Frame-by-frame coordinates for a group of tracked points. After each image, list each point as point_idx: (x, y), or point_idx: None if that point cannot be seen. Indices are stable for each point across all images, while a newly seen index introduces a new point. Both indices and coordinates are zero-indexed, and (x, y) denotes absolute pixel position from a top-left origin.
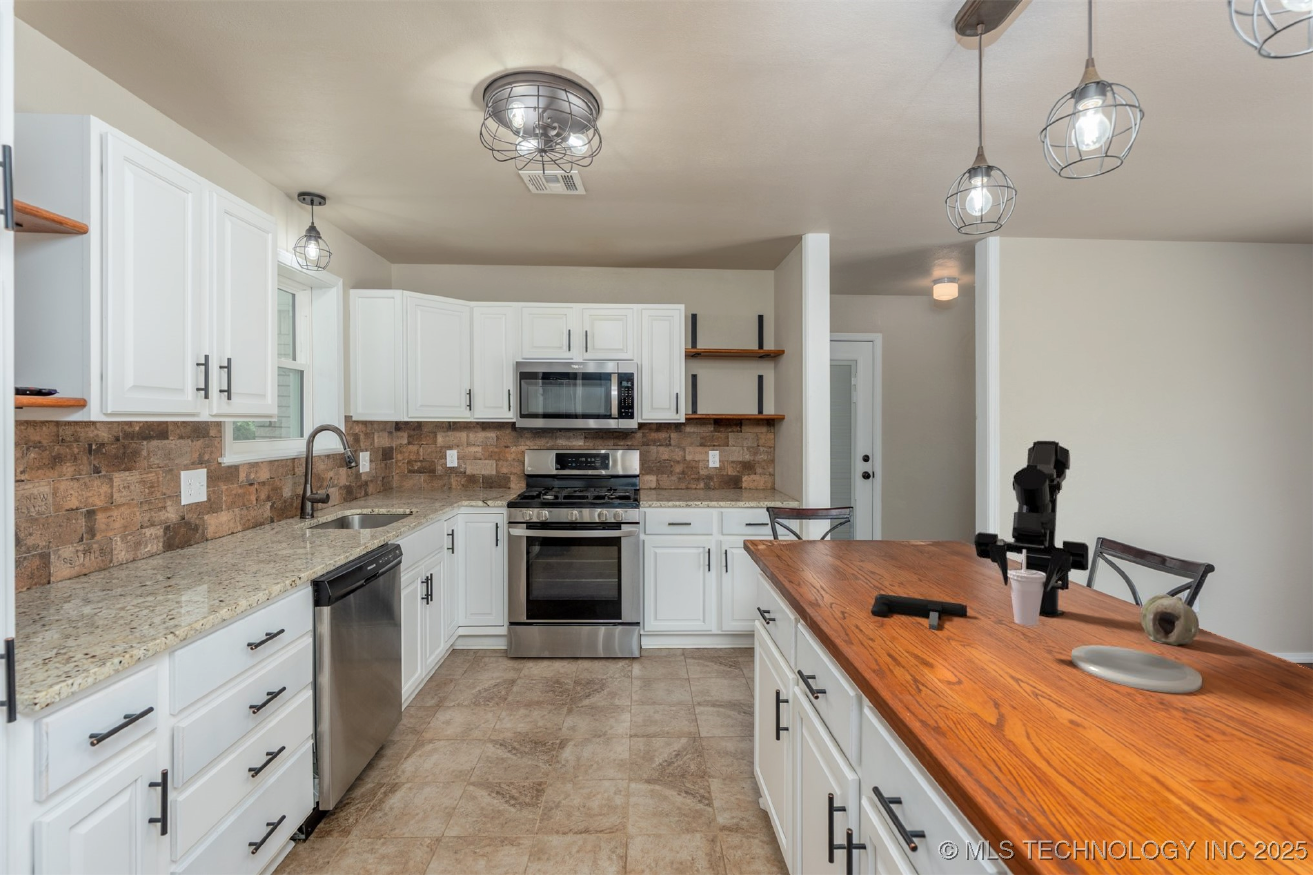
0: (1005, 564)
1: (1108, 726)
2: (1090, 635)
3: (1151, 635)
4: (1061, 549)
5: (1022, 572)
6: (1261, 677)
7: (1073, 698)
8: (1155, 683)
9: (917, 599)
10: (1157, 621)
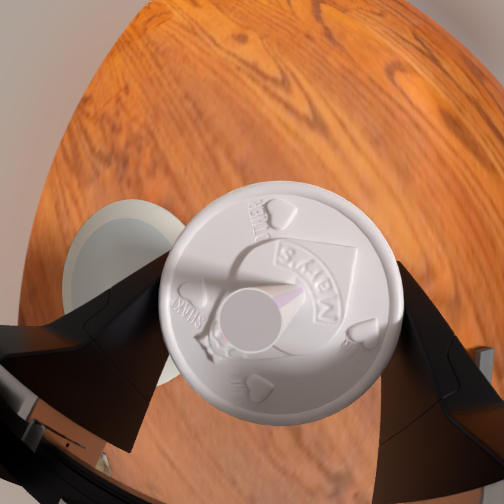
0: (430, 348)
1: (206, 51)
2: (177, 466)
3: (103, 462)
4: (6, 456)
5: (304, 255)
6: None
7: (232, 98)
8: (111, 206)
9: None
10: None
